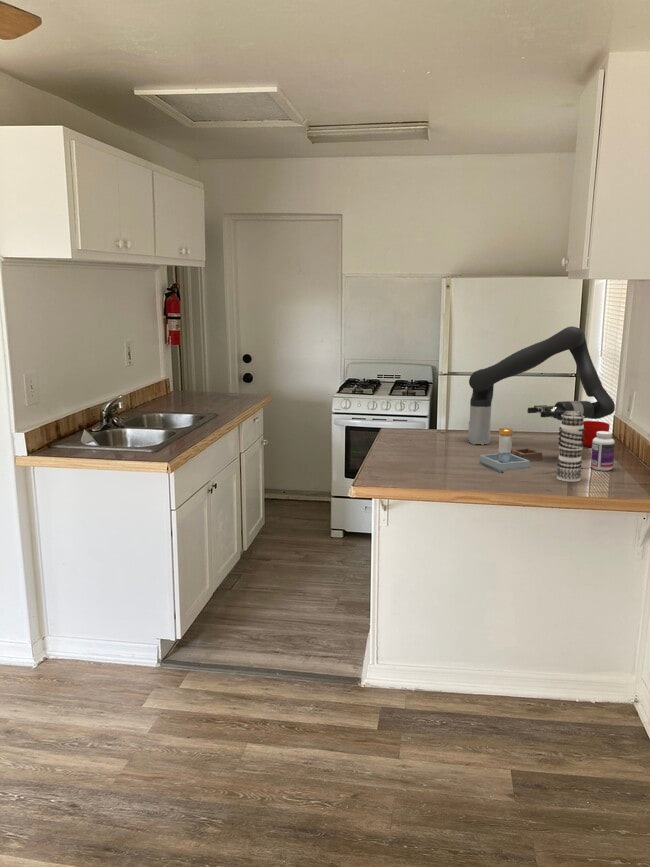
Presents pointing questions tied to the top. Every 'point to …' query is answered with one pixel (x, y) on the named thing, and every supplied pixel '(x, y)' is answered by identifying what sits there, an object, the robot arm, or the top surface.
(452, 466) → the top surface
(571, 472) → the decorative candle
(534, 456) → the square wooden frame
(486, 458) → the tray
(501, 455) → the glass jar
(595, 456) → the pill bottle
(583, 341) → the robot arm
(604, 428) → the ceramic cup
